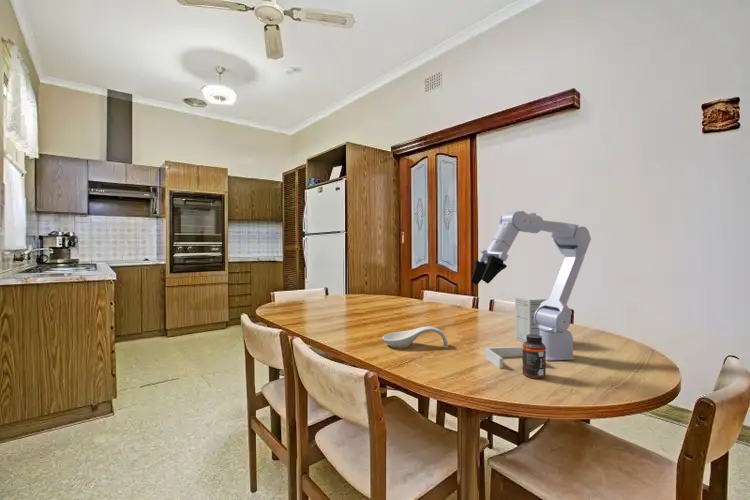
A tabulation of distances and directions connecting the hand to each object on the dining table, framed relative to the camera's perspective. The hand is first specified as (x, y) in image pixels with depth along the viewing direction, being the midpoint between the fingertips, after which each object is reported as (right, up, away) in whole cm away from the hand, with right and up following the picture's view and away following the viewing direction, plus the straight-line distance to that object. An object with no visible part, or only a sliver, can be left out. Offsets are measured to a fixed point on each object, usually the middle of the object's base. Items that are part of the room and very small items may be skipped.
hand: (479, 282), depth 104 cm
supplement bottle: (+14, -26, -5) cm, 30 cm away
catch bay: (+13, -26, +7) cm, 29 cm away
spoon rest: (-16, -26, +25) cm, 39 cm away
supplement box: (+29, -25, +30) cm, 49 cm away
